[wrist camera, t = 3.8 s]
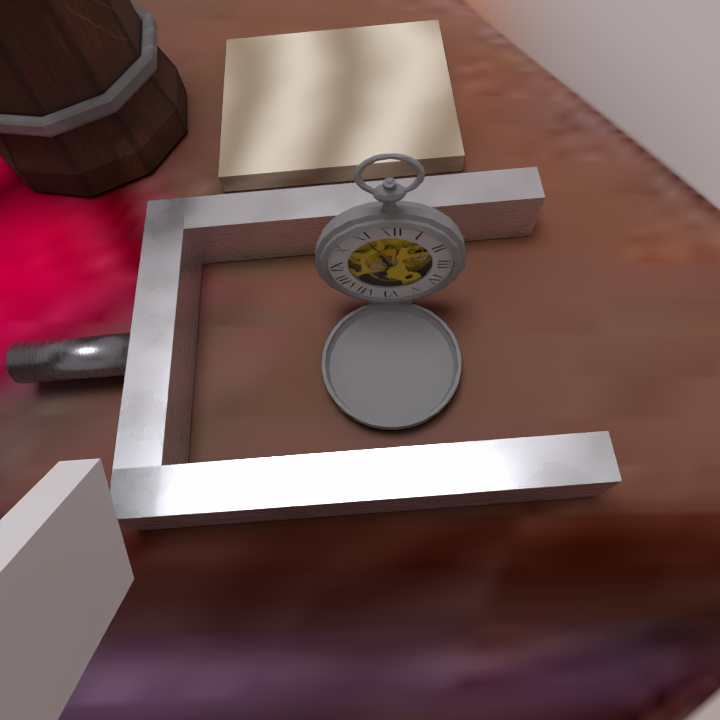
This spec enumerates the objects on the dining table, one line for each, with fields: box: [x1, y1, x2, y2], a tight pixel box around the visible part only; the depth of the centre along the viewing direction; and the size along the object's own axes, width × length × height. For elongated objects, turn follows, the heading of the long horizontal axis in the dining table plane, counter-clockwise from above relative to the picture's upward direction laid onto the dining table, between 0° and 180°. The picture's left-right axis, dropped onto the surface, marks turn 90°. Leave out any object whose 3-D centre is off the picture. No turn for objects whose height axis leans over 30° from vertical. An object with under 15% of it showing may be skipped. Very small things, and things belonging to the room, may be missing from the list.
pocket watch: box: [315, 153, 466, 430], centre depth 22 cm, size 8×8×10 cm
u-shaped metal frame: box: [6, 167, 622, 531], centre depth 26 cm, size 26×16×3 cm, turn 94°
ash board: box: [218, 20, 465, 192], centre depth 34 cm, size 14×12×1 cm
